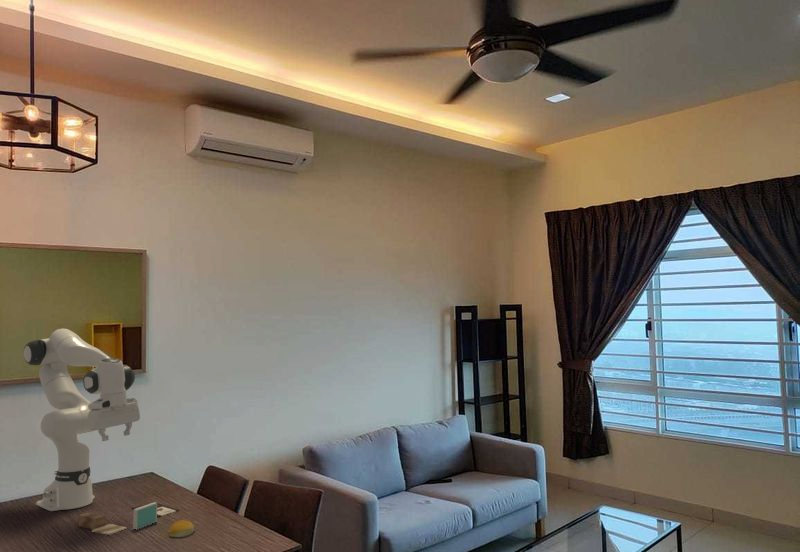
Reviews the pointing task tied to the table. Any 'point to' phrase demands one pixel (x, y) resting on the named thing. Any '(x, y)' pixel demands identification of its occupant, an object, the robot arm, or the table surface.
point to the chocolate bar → (161, 509)
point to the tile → (144, 515)
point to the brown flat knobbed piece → (98, 524)
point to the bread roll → (181, 529)
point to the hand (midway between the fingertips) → (116, 438)
